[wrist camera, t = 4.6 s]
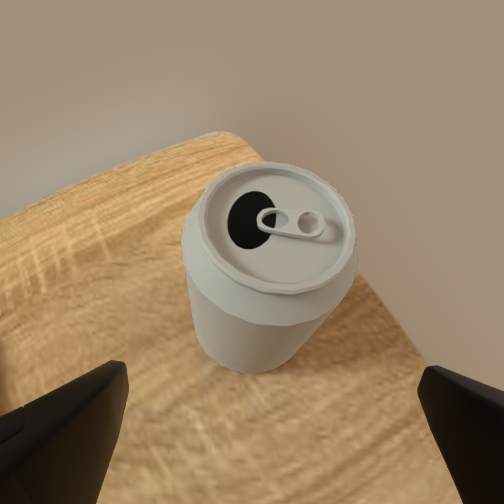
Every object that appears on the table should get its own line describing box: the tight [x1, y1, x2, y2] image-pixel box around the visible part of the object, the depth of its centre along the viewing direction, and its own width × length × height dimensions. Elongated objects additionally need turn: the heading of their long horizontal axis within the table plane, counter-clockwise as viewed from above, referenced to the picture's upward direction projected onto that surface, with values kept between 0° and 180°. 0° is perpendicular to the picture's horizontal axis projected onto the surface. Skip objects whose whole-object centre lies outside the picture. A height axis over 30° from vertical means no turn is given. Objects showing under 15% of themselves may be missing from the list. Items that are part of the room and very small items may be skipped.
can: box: [181, 162, 359, 374], centre depth 17 cm, size 8×8×12 cm
